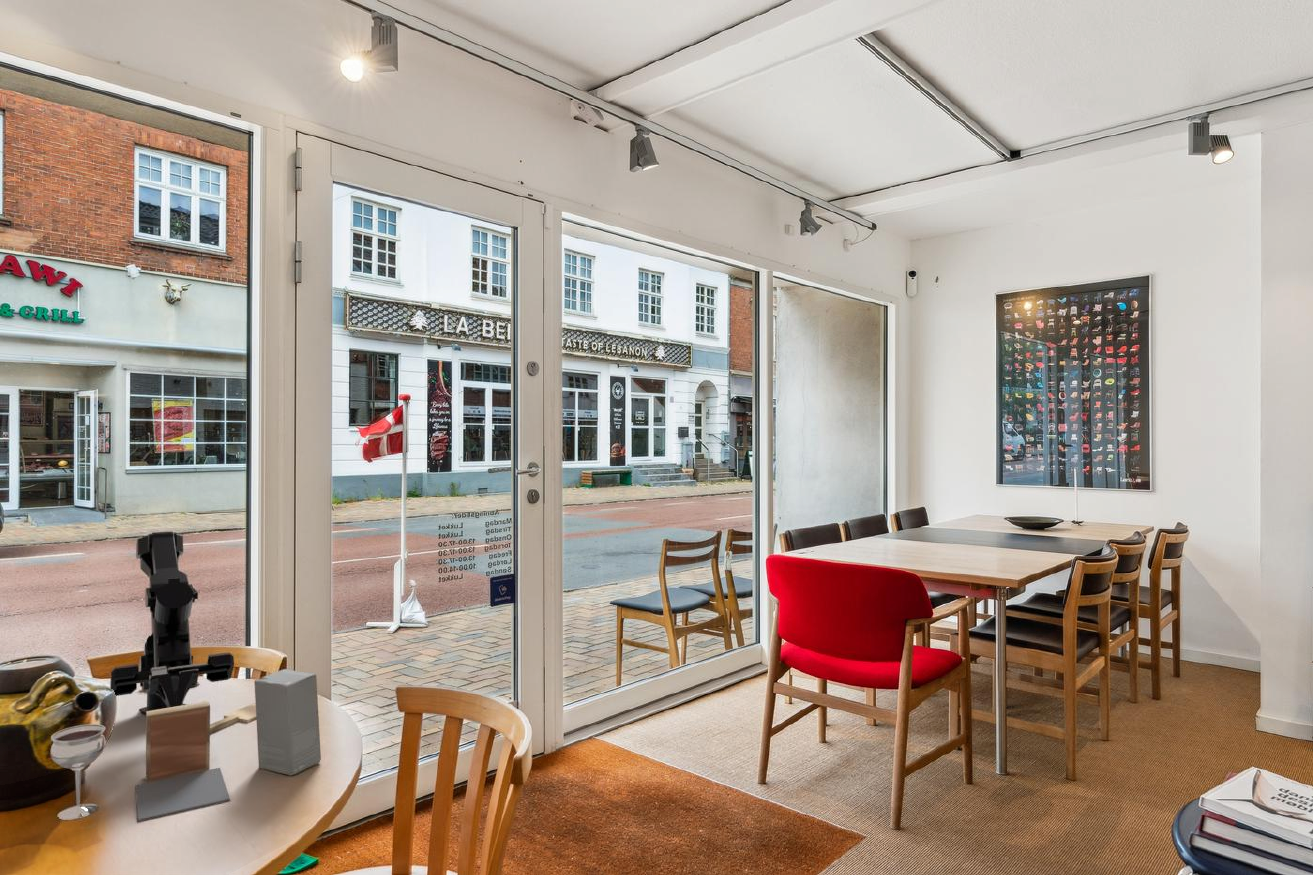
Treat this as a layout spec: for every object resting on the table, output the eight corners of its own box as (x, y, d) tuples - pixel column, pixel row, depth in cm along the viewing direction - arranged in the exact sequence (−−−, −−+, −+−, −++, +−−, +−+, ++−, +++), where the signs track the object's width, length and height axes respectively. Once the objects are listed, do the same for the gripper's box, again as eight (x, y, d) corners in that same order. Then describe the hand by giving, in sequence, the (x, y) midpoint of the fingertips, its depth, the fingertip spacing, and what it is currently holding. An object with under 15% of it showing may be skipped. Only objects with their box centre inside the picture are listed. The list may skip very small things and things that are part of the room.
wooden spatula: (203, 741, 144) (204, 736, 144) (178, 737, 146) (179, 731, 146) (278, 709, 162) (278, 704, 162) (255, 705, 163) (255, 700, 163)
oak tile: (145, 777, 130) (146, 711, 130) (207, 764, 136) (208, 701, 135) (146, 783, 128) (147, 716, 128) (209, 770, 133) (210, 706, 133)
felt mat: (135, 786, 127) (135, 784, 127) (219, 769, 134) (219, 767, 134) (138, 821, 116) (138, 819, 116) (229, 800, 123) (229, 798, 123)
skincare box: (321, 763, 137) (323, 673, 137) (287, 779, 131) (288, 685, 130) (287, 753, 141) (288, 665, 140) (251, 769, 134) (253, 677, 134)
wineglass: (44, 826, 114) (45, 745, 114) (55, 806, 120) (55, 728, 120) (101, 817, 117) (102, 737, 117) (108, 797, 123) (109, 721, 123)
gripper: (224, 654, 156) (230, 728, 147) (109, 669, 145) (109, 749, 136) (230, 623, 149) (238, 698, 141) (111, 636, 138) (111, 719, 130)
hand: (175, 717), depth 137 cm, fingers closed
